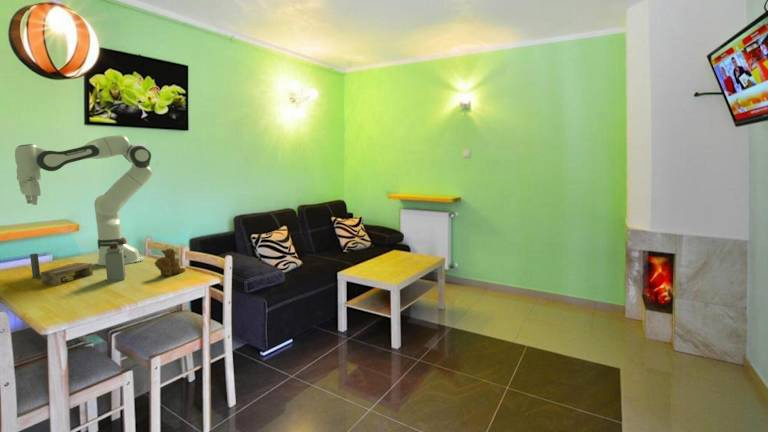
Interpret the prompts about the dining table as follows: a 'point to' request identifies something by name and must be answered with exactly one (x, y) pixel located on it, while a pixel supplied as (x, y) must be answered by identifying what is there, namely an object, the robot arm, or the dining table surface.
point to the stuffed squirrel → (169, 263)
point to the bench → (54, 274)
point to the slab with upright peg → (36, 266)
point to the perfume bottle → (115, 263)
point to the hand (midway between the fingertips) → (32, 204)
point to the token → (68, 278)
